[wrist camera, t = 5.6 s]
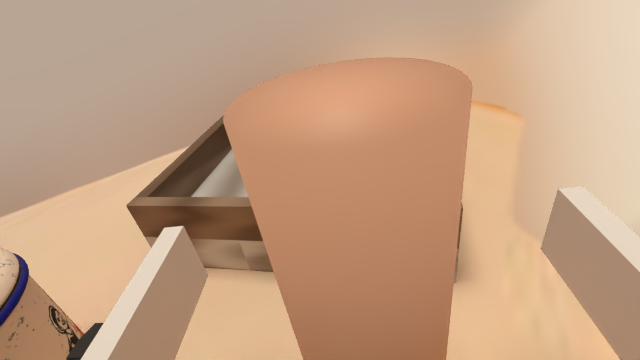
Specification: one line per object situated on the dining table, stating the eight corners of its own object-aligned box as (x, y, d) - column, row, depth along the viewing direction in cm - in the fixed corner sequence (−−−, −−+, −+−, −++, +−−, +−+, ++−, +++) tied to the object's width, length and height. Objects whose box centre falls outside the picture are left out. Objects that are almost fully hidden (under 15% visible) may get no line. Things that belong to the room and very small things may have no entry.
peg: (327, 494, 14) (173, 155, 5) (342, 381, 17) (269, 68, 8) (440, 521, 12) (501, 143, 4) (432, 394, 16) (454, 48, 7)
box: (161, 264, 27) (126, 205, 23) (240, 161, 39) (224, 114, 36) (455, 282, 21) (462, 208, 18) (435, 155, 34) (438, 98, 31)
